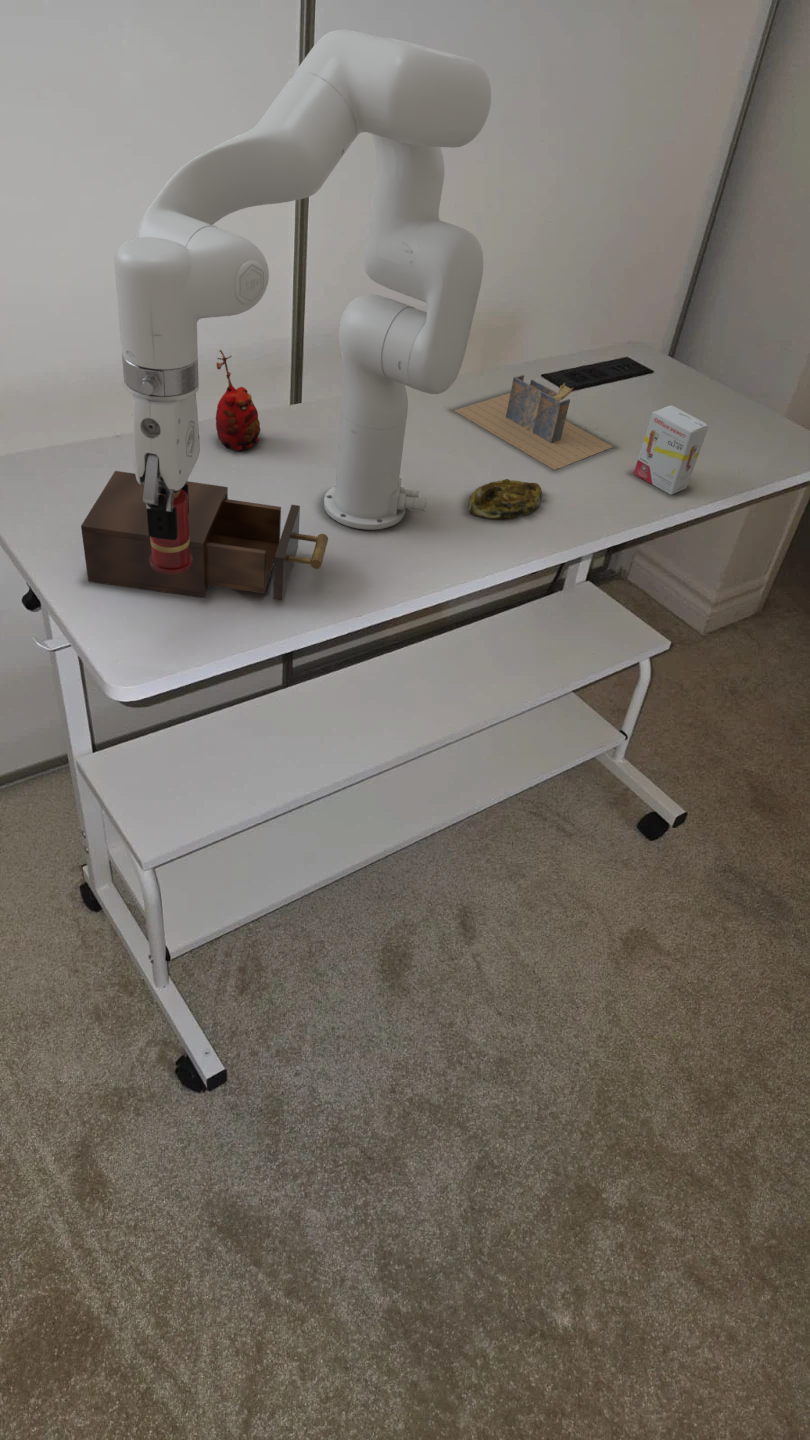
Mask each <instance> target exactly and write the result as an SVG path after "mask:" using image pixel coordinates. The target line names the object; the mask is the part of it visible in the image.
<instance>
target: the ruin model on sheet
mask: <svg viewBox="0 0 810 1440" xmlns="http://www.w3.org/2000/svg"><path fill="white" fill-rule="evenodd" d="M524 379H525V374H520V375H516V376H513V379H512V383H511V390H510V392H508V393H505V394H502V395H499V396H496V397H492V398H489V399H486V400H483V401H480V402H476V403H473V404H471V405H468V406H464V407H460V408H457V409H454V410H453V411H454V412H456V413H457V414H459V415H461V416H462V417H463V418H466V419H467V420H469V421H470V422H472V423H474V424H475V425H477V426H479V427H481V428H483V429H484V430H486V431H488V432H489V433H491V434H493V435H494V436H496V437H498V438H500V439H501V440H503V441H505V442H506V443H508V444H510V445H511V446H513V447H515V448H516V449H518V450H520V451H522V452H523V453H525V454H526V455H529V456H530V457H532V458H533V459H535V460H537V461H538V462H540V463H542V464H543V465H545V466H547V467H549V468H550V469H552V470H554V471H555V470H558V469H561V468H563V467H566V466H568V465H571V464H574V463H576V462H578V461H579V462H580V461H581V460H583V459H586V458H589V457H591V456H594V455H596V454H599V453H602V452H604V451H606V450H609V449H612V448H614V445H612V444H609V443H607V442H606V441H604V440H602V439H600V438H599V437H597V436H595V435H593V434H591V433H589V432H588V431H586V430H584V429H582V428H580V427H578V426H577V425H575V424H573V423H572V422H570V421H567V419H566V418H567V416H568V415H567V414H568V410H569V406H570V403H571V399H570V398H567V396H569V395H570V394H571V393H572V390H574V387H571V388H570V387H569V386H567V385H566V382H564V383H563V384H562V385H560V386H559V389H558V392H557V391H555V390H553V389H551V388H550V387H548V386H546V385H544V384H542V383H540V382H538V381H536V380H535V379H533V378H531V379H530V383H529V384H528V383H527V382H525V381H524ZM565 398H567V399H565Z"/></svg>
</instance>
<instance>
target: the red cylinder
mask: <svg viewBox="0 0 810 1440" xmlns="http://www.w3.org/2000/svg"><path fill="white" fill-rule="evenodd" d="M159 480H162V481H164V480H163V478H162V477H160V478H159ZM158 493H159V494H160V495H163V496H164V497H165V498H166V489H159V488H158ZM173 507H175V508H177V530H178V537H177V539H176V540H168V539H161V538H154V537H151V536H150V543H151V552H152V554H151V555H150V558H149V561H150V565H151V567H152V568H153V569H154V570H156V571H157V572H160V573H163V574H179V573H183V572H185V571H187V570H188V569H190V567H191V566H192V564H193V558H192V555H191V554H190V546H189V544H190V537H189V520H188V496H187V493H186V492H185V491H184V490H182V489H180V490H178V491H175V490H174V494H173Z"/></svg>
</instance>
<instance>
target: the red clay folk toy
mask: <svg viewBox="0 0 810 1440" xmlns="http://www.w3.org/2000/svg"><path fill="white" fill-rule="evenodd" d="M218 352H219V353H220V354H221V355H222V357H217V360H220V361H221V360H222V362H216V363H215V364H216V369H217V370H221V369H222V366H224V367H225V371H226V379H227V381H228V386H227V387H226V390H225V392H224V394H223V395H222V396H221V398H220V399H219V401H218V403H217V407H216V412H215V429H216V433H217V438H218V440H219V441H220V442H221V444H222V445H223V446H224V447H225V448H228V449H231V450H232V451H234V452H235V451H237V452H240V451H242V450H248V449H251V448H252V447H253V445H255V444H257V443H258V442H259V441H260V440H259V436H260V434H261V427H260V426H261V422H260V419H259V412H258V409H257V407H256V406H255V404H254V401H253V399H252V395H251V393H248V392H249V391H248V389H246V388H245V387H244V386H239V387H238V388H235V386H233V383H232V381H231V375H232V372H231V371H230V372H229V368H228V363H227V361H228V360H229V359H230V358H232V355H229V356H228V357H226V356H225V354H224V352H223V351H222V349H220V350H219V351H218Z"/></svg>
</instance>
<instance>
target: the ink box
mask: <svg viewBox="0 0 810 1440" xmlns="http://www.w3.org/2000/svg"><path fill="white" fill-rule="evenodd" d="M646 428H647V429H646V432H645V435H644V438H643V441H642V444H641V449H640V451H639V454H638V458H637V461H636V464H635V467H634V470H633V475H635V476H636V477H638V478H639V479H642V480H644V481H645V482H647V483H649V484H651V485H652V486H653V487H656V488H657V489H659V490H661V491H662V492H665V493H666V494H668V495H670V496H672V495H674V494H677V493H678V492H681V491H683V490H685V489H687V487H688V485H689V482H690V479H691V477H692V474H693V472H694V469H695V465H696V463H697V460H698V457H699V455H700V452H701V449H702V447H703V443H704V441H705V438H706V435H707V432H708V430H709V426H708V424H707V423H706V422H704V421H702V420H701V419H698V418H697V417H695V416H693V415H691V414H689V413H687V412H686V411H684V410H683V409H680V408H678V407H676V406H675V405H667V406H665V407H662V408H658V409H655V410H654V411H652V413H651V415H650V419H649V422H648V425H647V427H646Z"/></svg>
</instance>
